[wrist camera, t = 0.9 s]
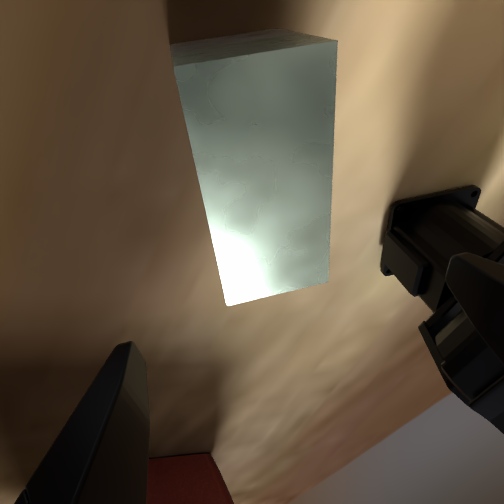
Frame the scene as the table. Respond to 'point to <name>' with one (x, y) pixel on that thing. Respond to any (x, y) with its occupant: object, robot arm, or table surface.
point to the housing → (263, 154)
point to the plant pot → (186, 481)
